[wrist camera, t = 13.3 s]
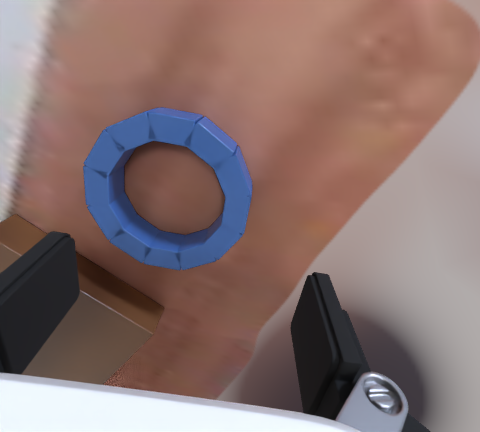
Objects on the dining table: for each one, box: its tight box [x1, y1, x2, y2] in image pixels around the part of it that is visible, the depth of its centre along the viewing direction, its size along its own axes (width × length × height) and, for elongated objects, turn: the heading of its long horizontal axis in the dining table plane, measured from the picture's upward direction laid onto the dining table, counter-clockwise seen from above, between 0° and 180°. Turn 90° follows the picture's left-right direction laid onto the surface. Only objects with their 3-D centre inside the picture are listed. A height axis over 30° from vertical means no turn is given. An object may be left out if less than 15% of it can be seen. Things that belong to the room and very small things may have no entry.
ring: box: [83, 107, 252, 270], centre depth 20 cm, size 11×11×2 cm
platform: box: [0, 214, 164, 385], centre depth 26 cm, size 14×14×3 cm
